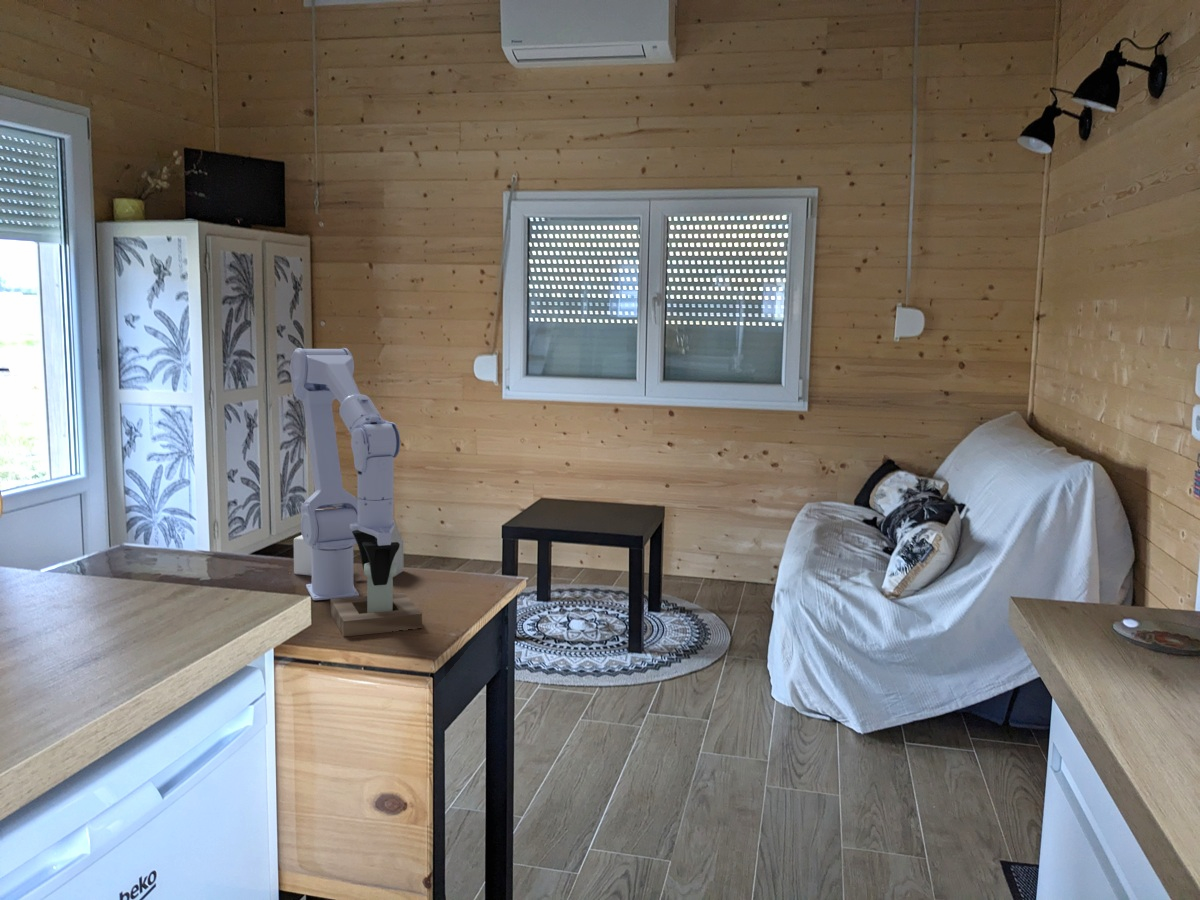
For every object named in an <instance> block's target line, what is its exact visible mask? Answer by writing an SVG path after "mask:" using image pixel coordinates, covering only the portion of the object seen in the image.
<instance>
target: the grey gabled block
mask: <svg viewBox="0 0 1200 900" xmlns="http://www.w3.org/2000/svg"><path fill="white" fill-rule="evenodd" d="M393 522H394V529H393V531H392V533H391V542H398V543H399V544H400V546H399V549H398V551H397V553H396V554H395V556H394V559H393V562H394V563H396V575H394V576H393V578H394V577H396V576H398V575H399V574H401V573H403V572H404V545H405V544H404V539H403V538H402V535H401V533H400V531H399V529H398V526H397V521H396V520H393ZM401 568H403V569H401Z"/></svg>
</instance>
